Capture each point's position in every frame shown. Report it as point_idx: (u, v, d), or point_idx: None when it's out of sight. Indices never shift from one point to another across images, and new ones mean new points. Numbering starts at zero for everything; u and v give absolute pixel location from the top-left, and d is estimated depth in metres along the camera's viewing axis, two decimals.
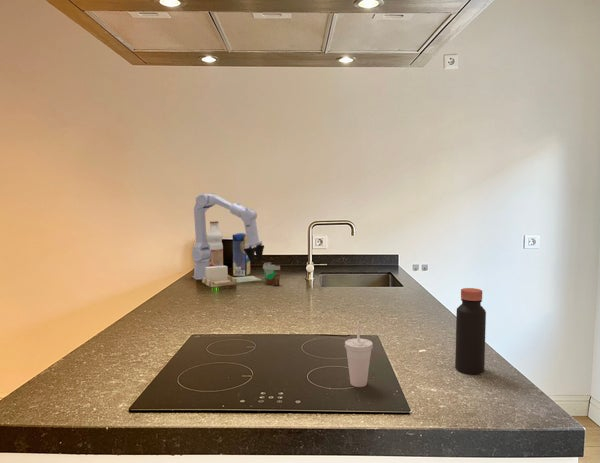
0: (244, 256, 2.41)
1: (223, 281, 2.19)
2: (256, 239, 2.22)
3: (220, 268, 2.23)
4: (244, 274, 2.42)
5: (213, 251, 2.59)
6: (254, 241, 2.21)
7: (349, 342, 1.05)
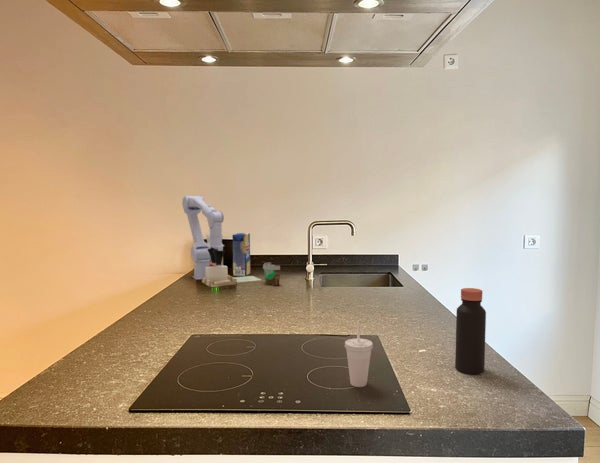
0: (244, 256, 2.41)
1: (223, 281, 2.20)
2: (221, 242, 2.24)
3: (220, 268, 2.23)
4: (244, 274, 2.42)
5: None
6: (220, 244, 2.22)
7: (349, 342, 1.05)
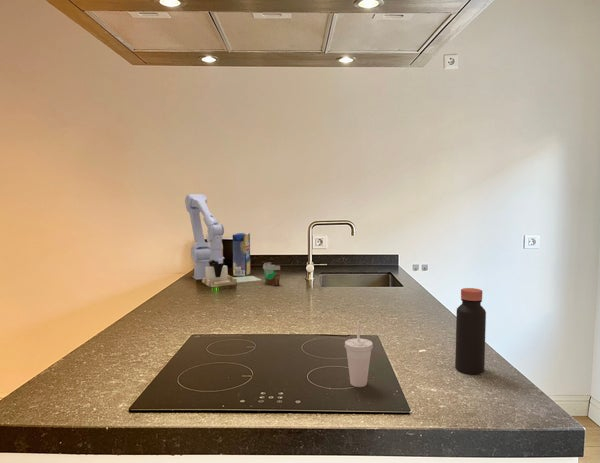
0: (244, 256, 2.41)
1: (223, 281, 2.20)
2: (221, 254, 2.24)
3: None
4: (244, 274, 2.42)
5: None
6: (221, 256, 2.23)
7: (349, 342, 1.05)
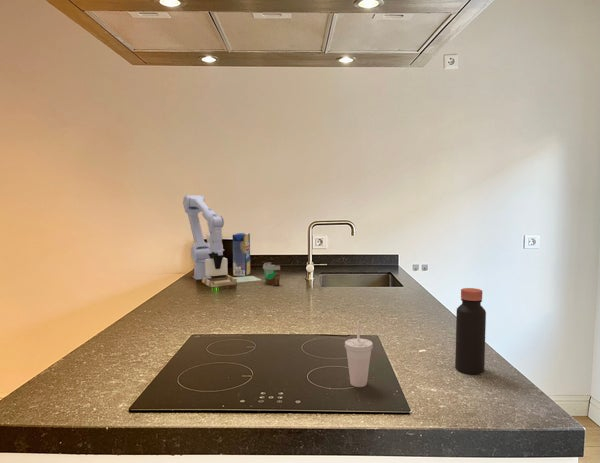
0: (244, 256, 2.41)
1: (223, 281, 2.20)
2: (221, 246, 2.24)
3: None
4: (244, 274, 2.42)
5: None
6: (221, 248, 2.23)
7: (349, 342, 1.05)
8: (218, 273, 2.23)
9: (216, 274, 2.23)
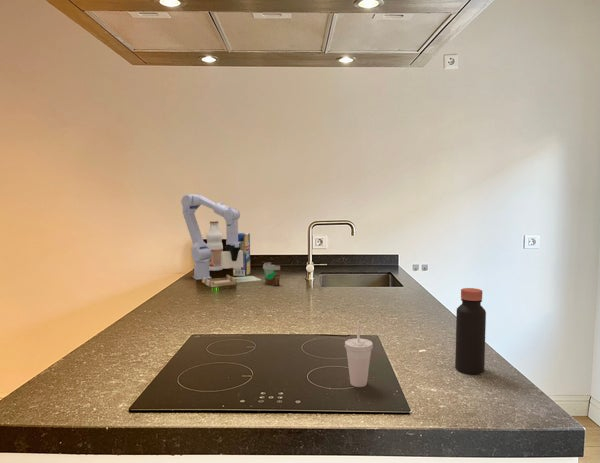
0: (244, 256, 2.41)
1: (223, 281, 2.20)
2: None
3: None
4: (244, 274, 2.42)
5: (213, 251, 2.59)
6: (237, 240, 2.26)
7: (349, 342, 1.05)
8: (234, 265, 2.26)
9: (232, 266, 2.26)
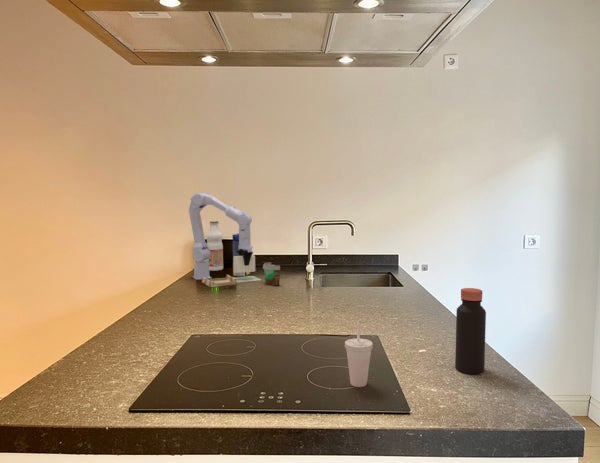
0: None
1: (223, 281, 2.20)
2: (250, 243, 2.31)
3: None
4: (244, 274, 2.42)
5: (213, 251, 2.59)
6: (249, 245, 2.29)
7: (349, 342, 1.05)
8: (246, 270, 2.30)
9: (244, 271, 2.29)
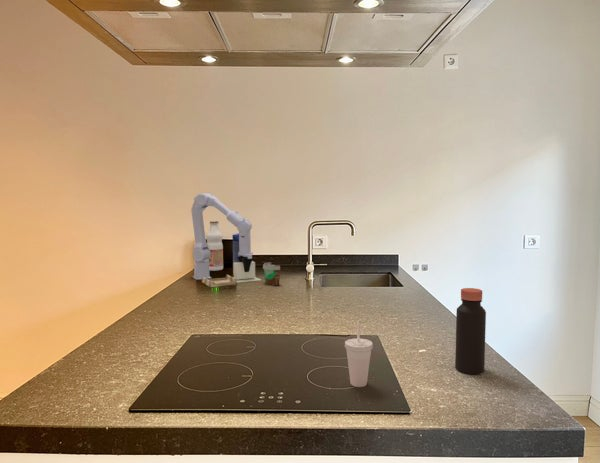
0: None
1: (223, 281, 2.19)
2: (250, 250, 2.31)
3: None
4: None
5: (213, 251, 2.59)
6: (249, 252, 2.30)
7: (349, 342, 1.05)
8: (246, 276, 2.30)
9: (244, 277, 2.30)
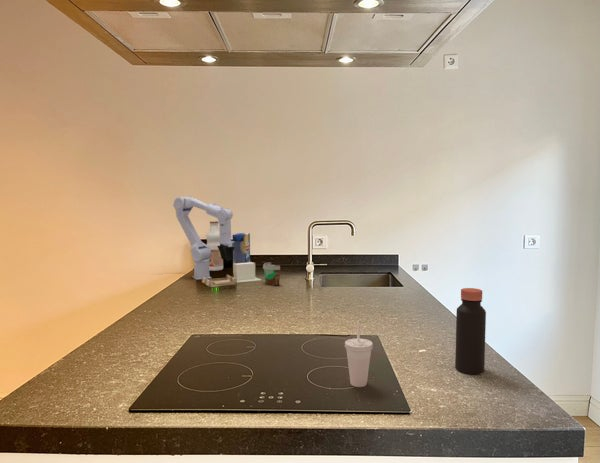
0: (244, 256, 2.41)
1: (223, 281, 2.19)
2: None
3: (248, 264, 2.30)
4: None
5: (213, 251, 2.59)
6: (230, 240, 2.29)
7: (349, 342, 1.05)
8: (246, 277, 2.30)
9: (244, 278, 2.30)
